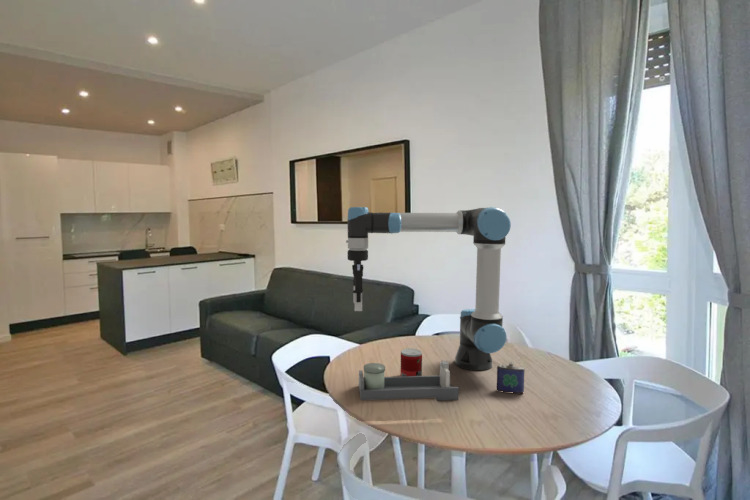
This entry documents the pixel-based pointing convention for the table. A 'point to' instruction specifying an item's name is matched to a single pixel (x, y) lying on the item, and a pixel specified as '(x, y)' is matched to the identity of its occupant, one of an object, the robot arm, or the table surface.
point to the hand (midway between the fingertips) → (357, 306)
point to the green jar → (374, 376)
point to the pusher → (444, 374)
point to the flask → (510, 378)
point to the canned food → (411, 362)
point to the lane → (409, 388)
